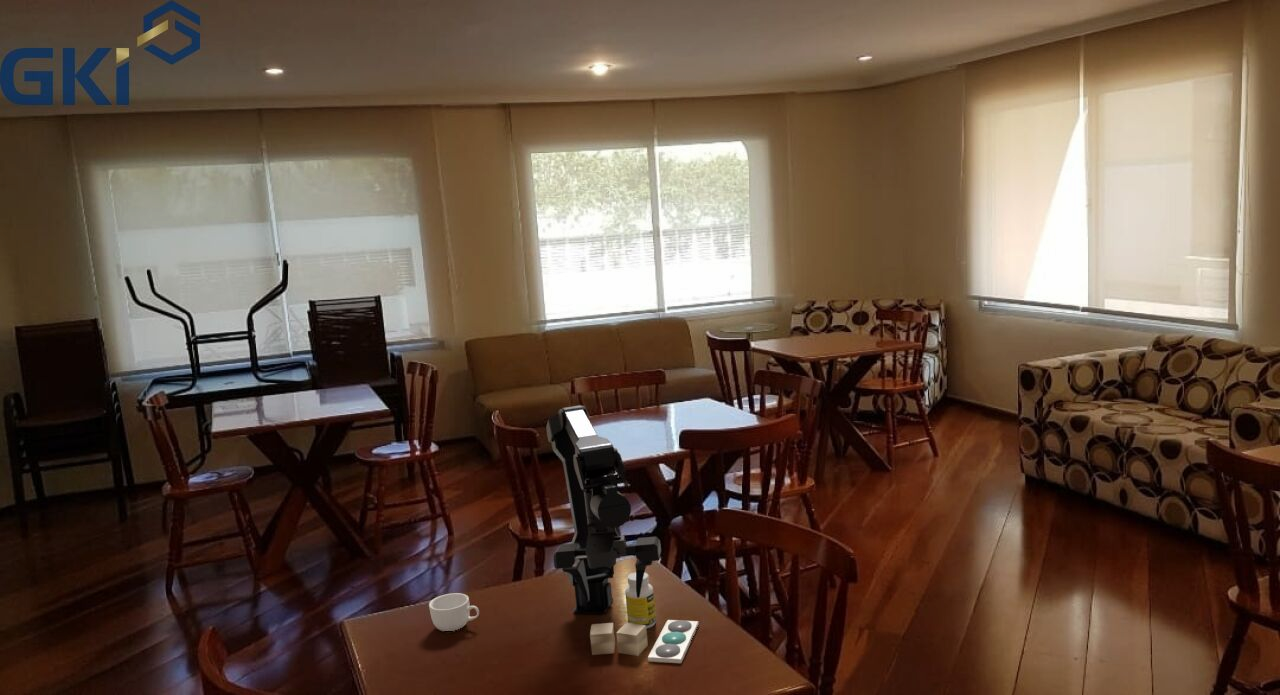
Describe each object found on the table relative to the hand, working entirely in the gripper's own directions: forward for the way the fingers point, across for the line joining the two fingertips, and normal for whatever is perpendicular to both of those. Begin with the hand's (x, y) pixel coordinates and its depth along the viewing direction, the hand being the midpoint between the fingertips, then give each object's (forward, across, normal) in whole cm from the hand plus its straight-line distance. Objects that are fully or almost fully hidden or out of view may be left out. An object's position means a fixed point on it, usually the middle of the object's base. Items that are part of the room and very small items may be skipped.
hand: (613, 598), depth 162 cm
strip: (+10, +10, +3) cm, 15 cm away
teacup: (+8, -34, +13) cm, 38 cm away
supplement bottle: (+10, +3, +11) cm, 15 cm away
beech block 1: (+10, -3, +2) cm, 11 cm away
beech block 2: (+10, +2, +2) cm, 11 cm away
